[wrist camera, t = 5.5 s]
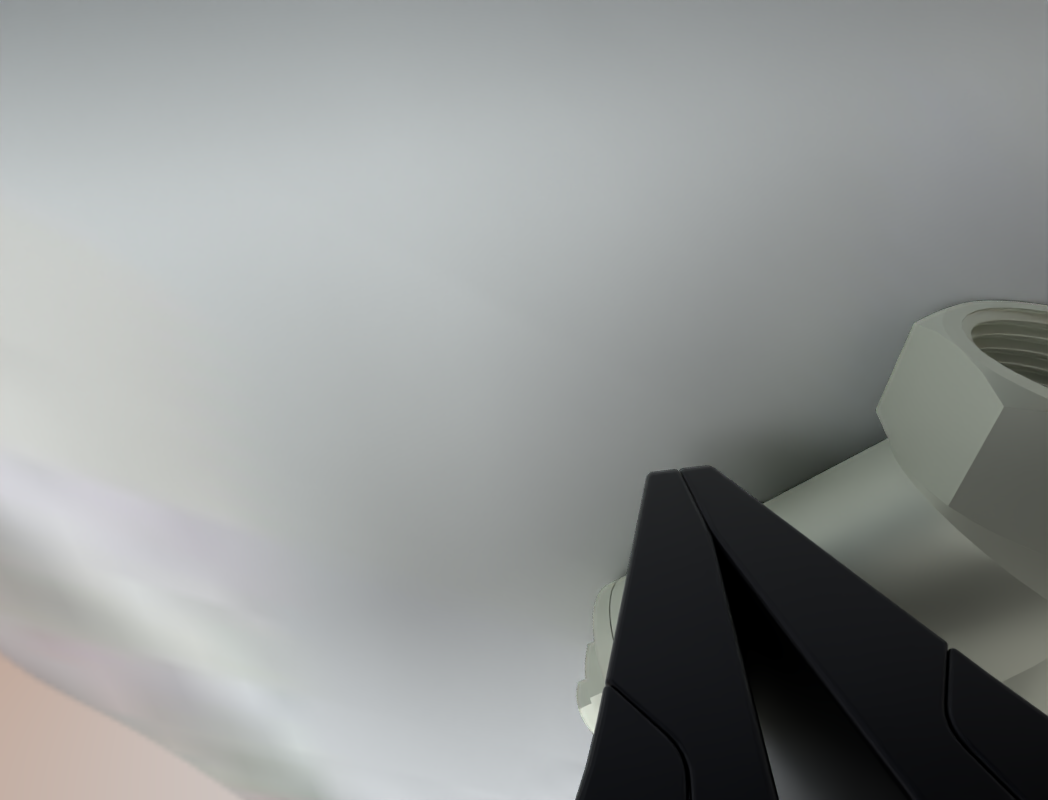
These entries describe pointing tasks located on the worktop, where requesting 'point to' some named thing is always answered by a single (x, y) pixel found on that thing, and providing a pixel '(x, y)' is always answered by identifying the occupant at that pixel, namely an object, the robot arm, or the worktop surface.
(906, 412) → the pipe fitting
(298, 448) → the worktop surface
